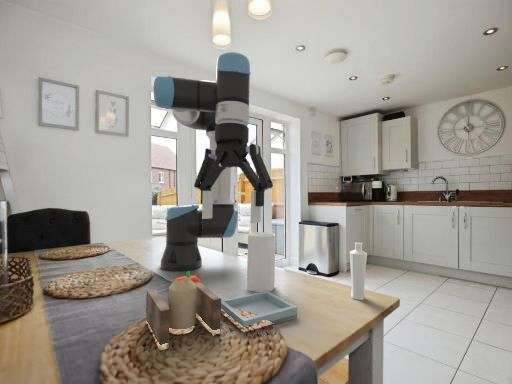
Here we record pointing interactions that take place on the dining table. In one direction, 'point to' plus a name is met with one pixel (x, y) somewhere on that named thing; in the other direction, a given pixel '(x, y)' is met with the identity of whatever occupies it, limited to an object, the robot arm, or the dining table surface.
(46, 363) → the dining table surface
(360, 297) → the perfume bottle
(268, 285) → the white tall cylinder
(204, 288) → the cradle
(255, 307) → the tray
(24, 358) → the dining table surface
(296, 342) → the dining table surface
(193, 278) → the orange pumpkin
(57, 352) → the dining table surface
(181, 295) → the candle
